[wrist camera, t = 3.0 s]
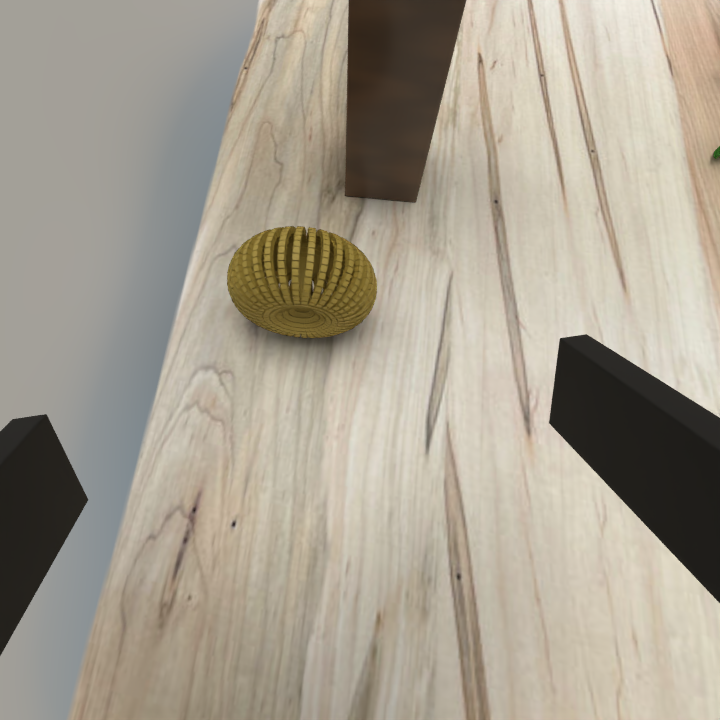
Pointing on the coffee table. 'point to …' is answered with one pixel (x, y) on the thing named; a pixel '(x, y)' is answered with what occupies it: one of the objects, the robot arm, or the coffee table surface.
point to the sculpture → (302, 282)
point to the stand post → (395, 91)
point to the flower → (717, 153)
